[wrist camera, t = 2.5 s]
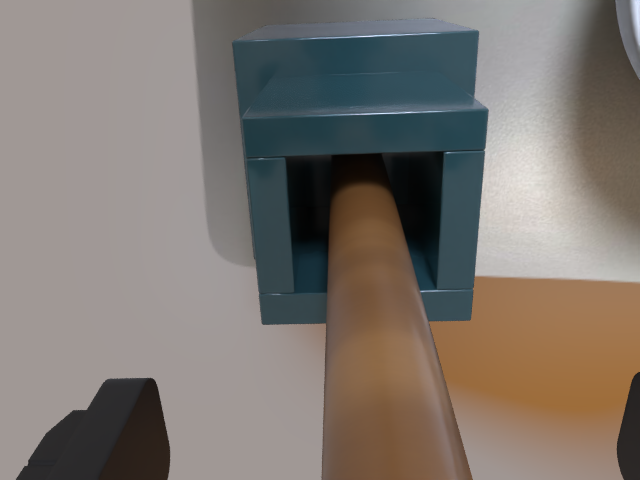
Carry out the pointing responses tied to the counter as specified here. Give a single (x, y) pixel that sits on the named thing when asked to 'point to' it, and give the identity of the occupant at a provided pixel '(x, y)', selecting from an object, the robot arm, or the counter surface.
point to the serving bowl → (630, 29)
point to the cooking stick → (380, 344)
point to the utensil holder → (361, 151)
